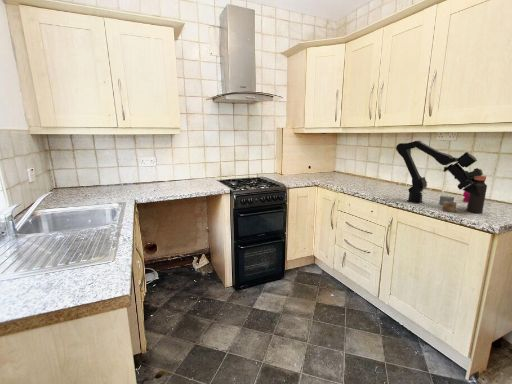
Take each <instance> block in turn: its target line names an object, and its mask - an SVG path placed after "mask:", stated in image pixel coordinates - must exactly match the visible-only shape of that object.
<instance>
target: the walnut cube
mask: <svg viewBox="0 0 512 384" xmlns="http://www.w3.org/2000/svg"><path fill="white" fill-rule="evenodd" d="M456 207H457V202H455V201H454V202H450V201H445V202H444V205H442V212H446V213H447V212H448V213H451V214H452V213H455V211H456Z"/></svg>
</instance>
